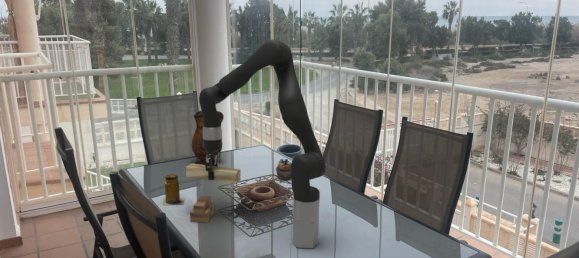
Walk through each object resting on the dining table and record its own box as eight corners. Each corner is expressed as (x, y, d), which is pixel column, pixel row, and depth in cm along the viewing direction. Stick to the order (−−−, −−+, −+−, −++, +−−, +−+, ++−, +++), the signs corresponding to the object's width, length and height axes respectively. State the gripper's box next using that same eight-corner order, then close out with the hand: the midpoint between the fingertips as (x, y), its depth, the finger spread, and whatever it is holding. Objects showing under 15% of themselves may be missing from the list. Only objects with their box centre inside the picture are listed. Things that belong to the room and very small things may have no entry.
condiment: (166, 198, 193) (165, 173, 190) (185, 198, 194) (184, 172, 191) (163, 205, 186) (161, 178, 183) (183, 204, 187) (182, 178, 184)
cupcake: (297, 180, 219) (297, 161, 217) (279, 182, 215) (279, 163, 213) (290, 174, 228) (290, 156, 225) (273, 176, 224) (273, 157, 222)
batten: (236, 183, 170) (236, 172, 169) (186, 177, 175) (185, 166, 174) (240, 179, 174) (240, 169, 173) (191, 173, 180) (191, 163, 179)
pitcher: (186, 164, 241) (183, 112, 234) (213, 156, 257) (212, 107, 250) (206, 170, 231) (204, 116, 224) (234, 161, 248) (233, 110, 241)
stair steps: (207, 222, 170) (207, 206, 168) (190, 221, 170) (189, 205, 169) (214, 212, 179) (214, 196, 178) (198, 211, 180) (197, 195, 178)
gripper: (216, 142, 163) (216, 184, 167) (226, 133, 177) (227, 172, 181) (197, 141, 164) (198, 183, 168) (209, 132, 178) (210, 171, 182)
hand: (213, 177), depth 174 cm, fingers closed on batten, 5 cm apart
